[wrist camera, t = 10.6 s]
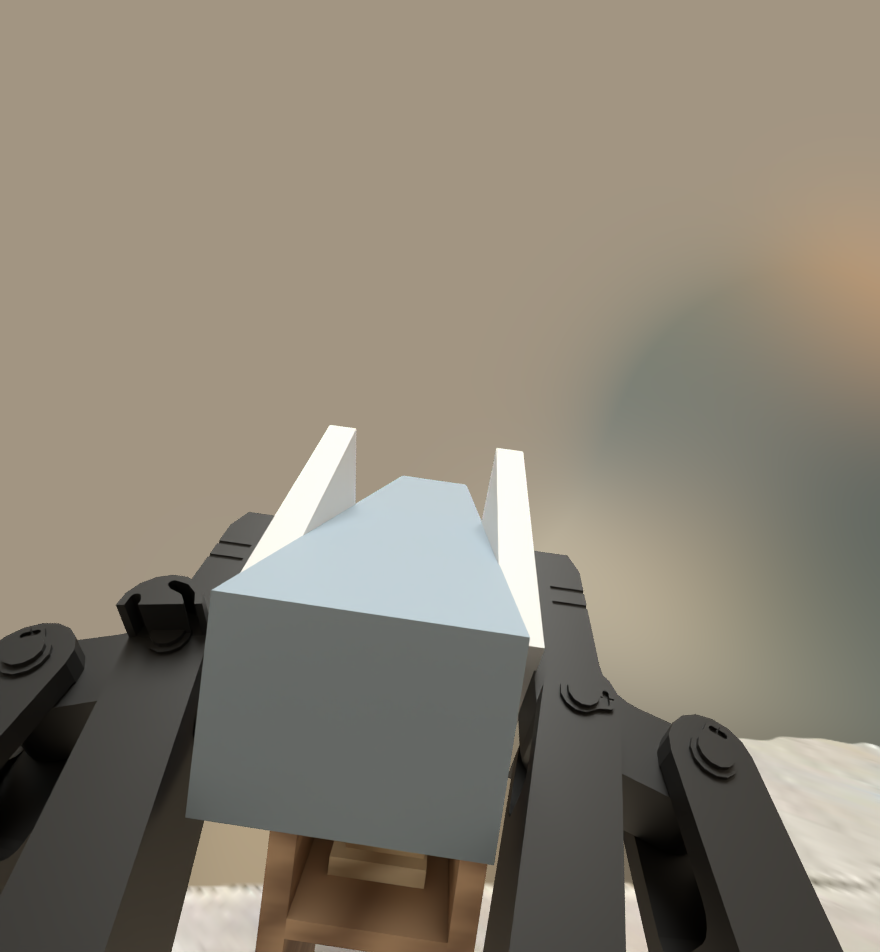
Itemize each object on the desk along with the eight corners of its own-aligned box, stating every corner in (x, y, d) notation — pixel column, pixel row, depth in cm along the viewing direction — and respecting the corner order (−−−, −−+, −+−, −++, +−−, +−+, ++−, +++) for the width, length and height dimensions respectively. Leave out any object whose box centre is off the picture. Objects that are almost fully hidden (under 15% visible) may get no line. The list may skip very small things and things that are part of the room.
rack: (229, 1166, 28) (295, 620, 25) (296, 948, 40) (345, 564, 37) (435, 1199, 27) (519, 653, 25) (440, 970, 39) (497, 586, 37)
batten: (184, 817, 6) (211, 589, 6) (396, 522, 30) (402, 475, 30) (494, 864, 6) (529, 637, 6) (459, 531, 30) (466, 484, 30)
